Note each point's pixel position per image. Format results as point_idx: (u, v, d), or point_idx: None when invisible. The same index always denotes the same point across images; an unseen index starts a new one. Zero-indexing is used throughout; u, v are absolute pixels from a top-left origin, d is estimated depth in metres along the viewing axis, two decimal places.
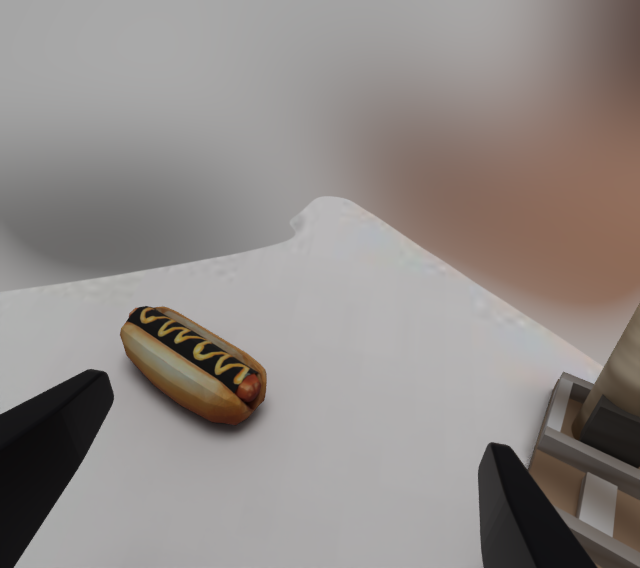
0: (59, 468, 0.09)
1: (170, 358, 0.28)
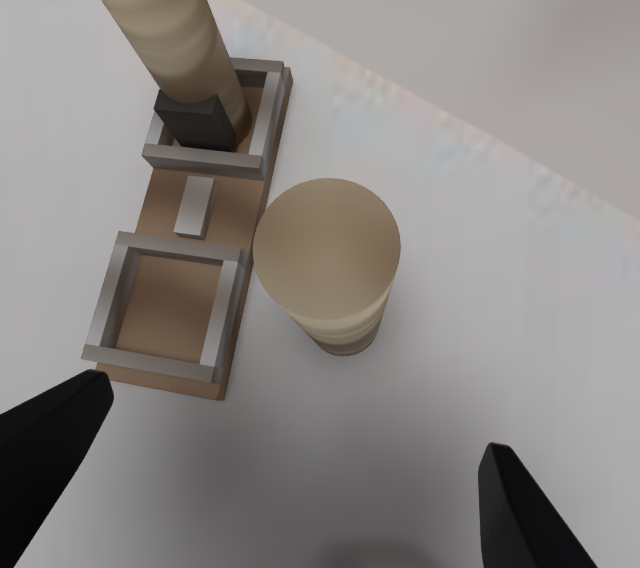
0: (59, 468, 0.09)
1: None
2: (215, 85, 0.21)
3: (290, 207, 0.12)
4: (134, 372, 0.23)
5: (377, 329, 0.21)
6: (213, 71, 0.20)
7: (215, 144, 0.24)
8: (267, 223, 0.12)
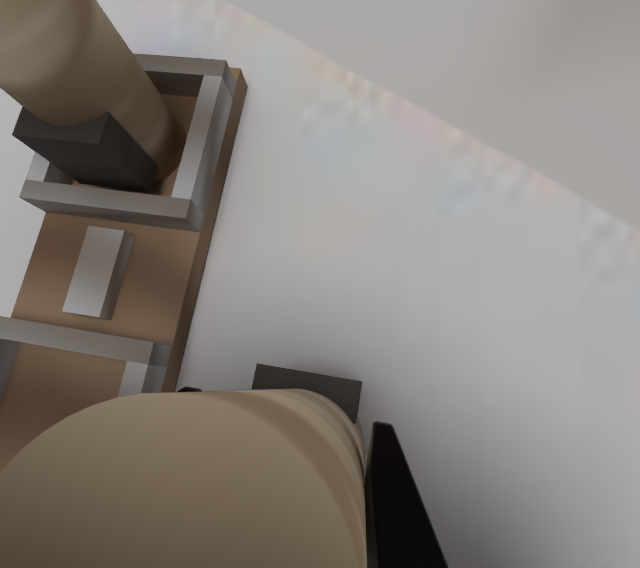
0: None
1: None
2: (102, 98, 0.13)
3: (54, 483, 0.04)
4: None
5: None
6: (93, 76, 0.13)
7: (123, 182, 0.16)
8: None
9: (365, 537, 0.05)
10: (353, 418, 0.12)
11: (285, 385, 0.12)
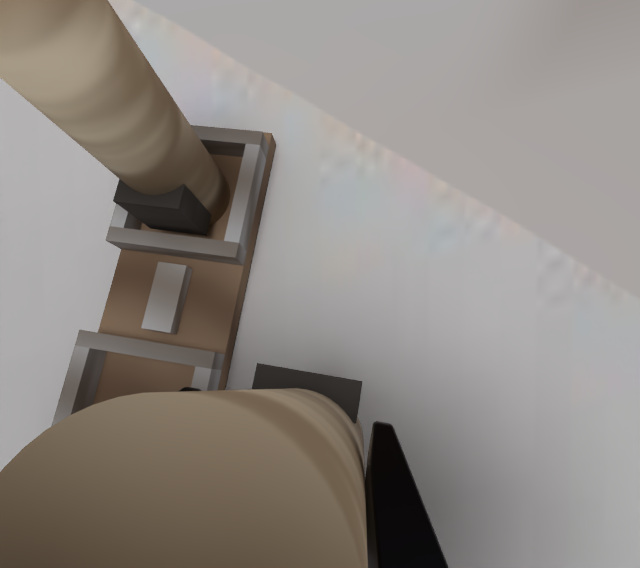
0: None
1: None
2: (181, 176, 0.19)
3: (55, 482, 0.04)
4: None
5: None
6: (178, 164, 0.18)
7: (187, 229, 0.22)
8: None
9: (366, 536, 0.05)
10: (353, 418, 0.12)
11: (285, 384, 0.12)
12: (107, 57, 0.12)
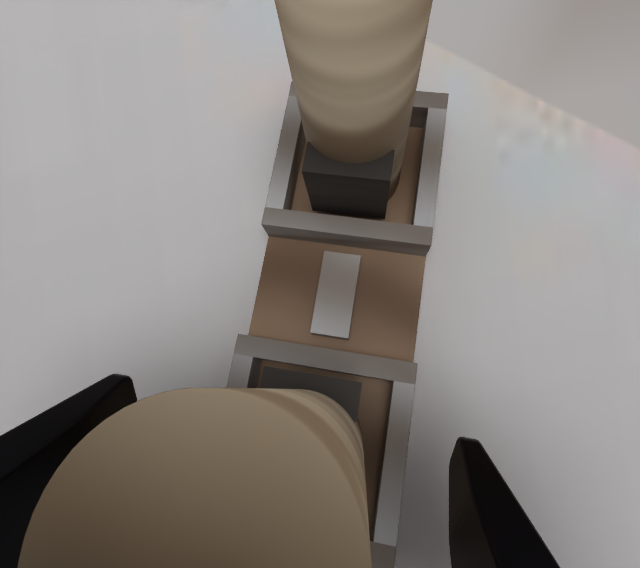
0: None
1: None
2: (397, 139, 0.14)
3: (115, 461, 0.05)
4: None
5: None
6: (403, 121, 0.14)
7: (366, 210, 0.17)
8: (58, 503, 0.05)
9: (367, 513, 0.06)
10: (354, 416, 0.13)
11: (290, 386, 0.13)
12: None
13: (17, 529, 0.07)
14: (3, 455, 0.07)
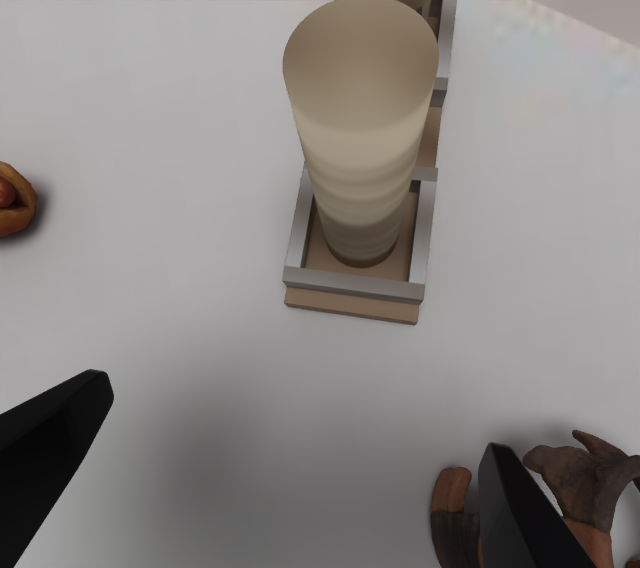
0: (59, 468, 0.09)
1: None
2: None
3: (321, 25, 0.11)
4: (327, 297, 0.23)
5: (398, 230, 0.20)
6: None
7: None
8: (297, 41, 0.11)
9: None
10: None
11: None
12: None
13: None
14: None
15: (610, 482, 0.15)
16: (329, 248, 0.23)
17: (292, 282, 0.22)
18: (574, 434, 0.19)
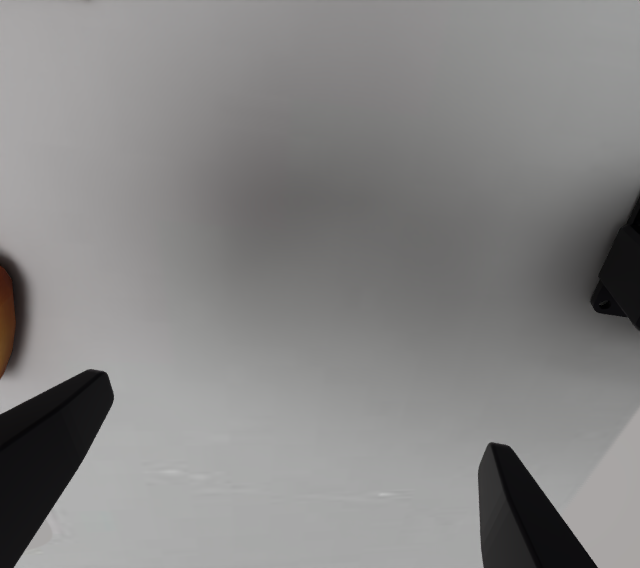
0: (59, 468, 0.09)
1: None
2: None
3: None
4: None
5: None
6: None
7: None
8: None
9: None
10: None
11: None
12: None
13: None
14: None
15: None
16: None
17: None
18: None
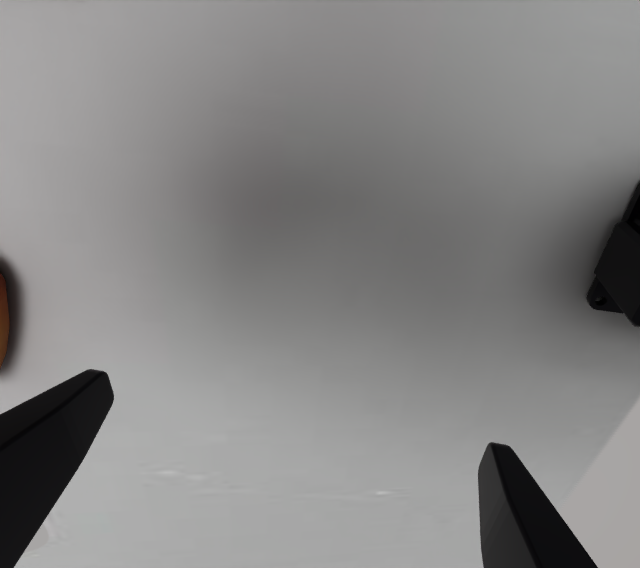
0: (59, 468, 0.09)
1: None
2: None
3: None
4: None
5: None
6: None
7: None
8: None
9: None
10: None
11: None
12: None
13: None
14: None
15: None
16: None
17: None
18: None
